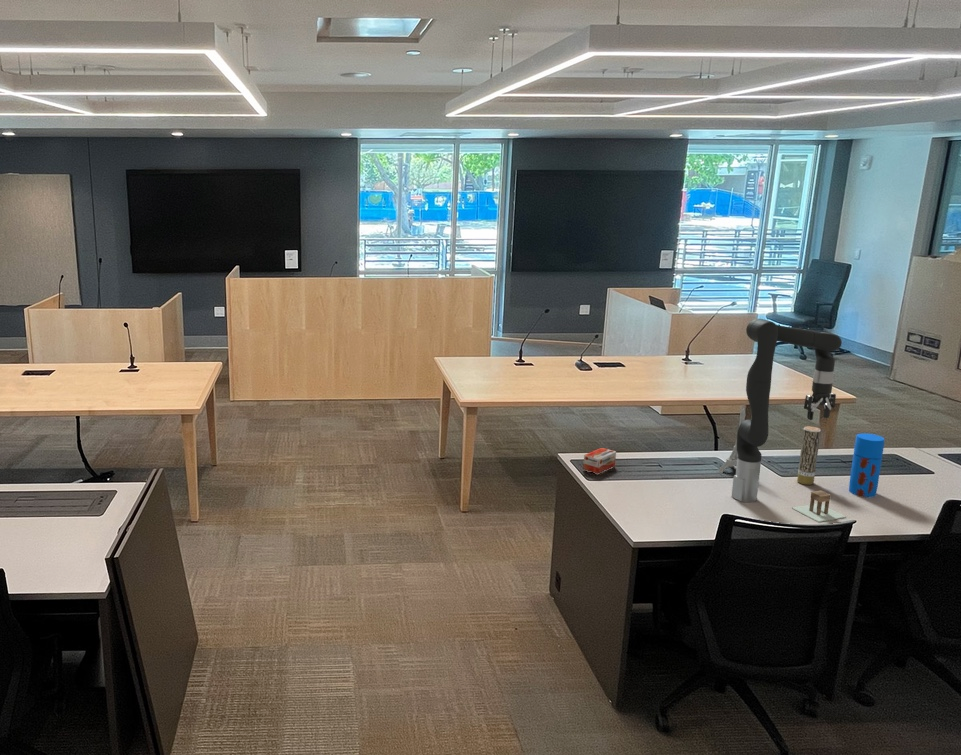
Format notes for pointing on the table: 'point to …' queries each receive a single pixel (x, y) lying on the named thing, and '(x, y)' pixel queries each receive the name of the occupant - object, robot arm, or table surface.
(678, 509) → the table surface
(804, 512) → the pad
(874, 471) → the thermos
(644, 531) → the table surface
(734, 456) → the eiffel tower
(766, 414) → the robot arm
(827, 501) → the stool
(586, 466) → the medicine box
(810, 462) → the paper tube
